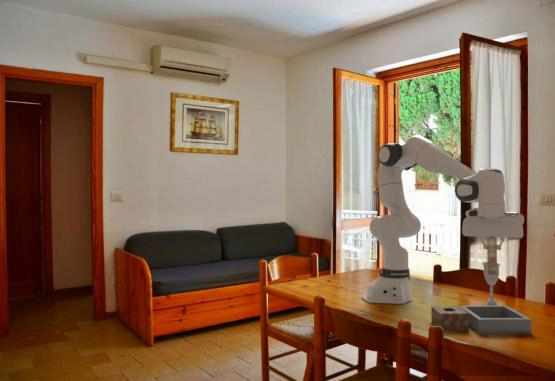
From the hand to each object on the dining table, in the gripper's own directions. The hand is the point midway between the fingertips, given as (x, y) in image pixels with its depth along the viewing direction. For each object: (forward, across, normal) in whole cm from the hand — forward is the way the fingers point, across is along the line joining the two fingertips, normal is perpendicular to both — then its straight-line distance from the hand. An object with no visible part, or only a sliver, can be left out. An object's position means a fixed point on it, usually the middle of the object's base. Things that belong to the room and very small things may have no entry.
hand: (492, 249), depth 162 cm
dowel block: (+28, +14, +8) cm, 32 cm away
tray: (+28, 0, 0) cm, 28 cm away
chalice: (+28, +4, -30) cm, 42 cm away
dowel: (+9, 0, 0) cm, 9 cm away
